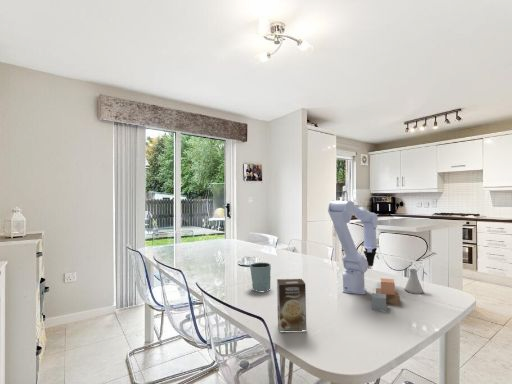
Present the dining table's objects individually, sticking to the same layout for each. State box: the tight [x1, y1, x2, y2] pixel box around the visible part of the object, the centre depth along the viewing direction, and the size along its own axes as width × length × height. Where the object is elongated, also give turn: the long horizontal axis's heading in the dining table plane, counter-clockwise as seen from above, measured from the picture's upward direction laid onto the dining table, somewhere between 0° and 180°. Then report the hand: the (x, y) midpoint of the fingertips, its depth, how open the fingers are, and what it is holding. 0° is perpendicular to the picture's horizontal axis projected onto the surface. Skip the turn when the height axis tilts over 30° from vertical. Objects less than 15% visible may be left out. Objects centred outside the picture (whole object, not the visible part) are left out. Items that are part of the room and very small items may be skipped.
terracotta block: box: [380, 277, 396, 295], centre depth 117 cm, size 5×5×5 cm
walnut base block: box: [375, 288, 401, 306], centre depth 117 cm, size 8×8×4 cm
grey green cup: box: [249, 262, 272, 292], centre depth 137 cm, size 10×10×12 cm
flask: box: [404, 268, 425, 295], centre depth 127 cm, size 7×7×10 cm
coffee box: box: [276, 278, 307, 332], centre depth 96 cm, size 9×6×16 cm
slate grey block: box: [371, 292, 387, 312], centre depth 110 cm, size 5×5×5 cm
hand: (370, 264), depth 139 cm, fingers open, 7 cm apart
